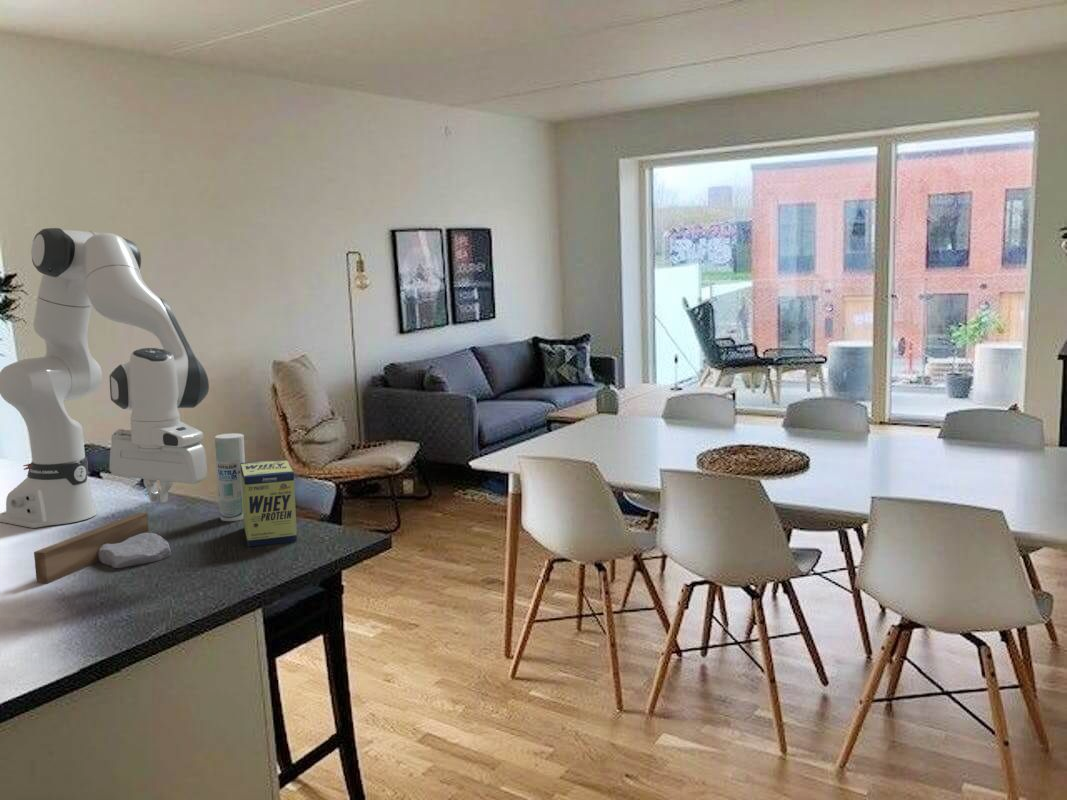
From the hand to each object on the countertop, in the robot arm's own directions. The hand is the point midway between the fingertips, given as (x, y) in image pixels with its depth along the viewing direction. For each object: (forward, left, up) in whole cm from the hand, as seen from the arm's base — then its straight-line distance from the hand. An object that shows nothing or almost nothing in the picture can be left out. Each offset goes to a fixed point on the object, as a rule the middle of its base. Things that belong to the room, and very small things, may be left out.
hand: (158, 501), depth 170 cm
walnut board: (-16, 0, -14) cm, 21 cm away
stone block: (-8, +3, -14) cm, 17 cm away
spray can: (-7, +34, -14) cm, 38 cm away
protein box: (+9, +24, -14) cm, 29 cm away
